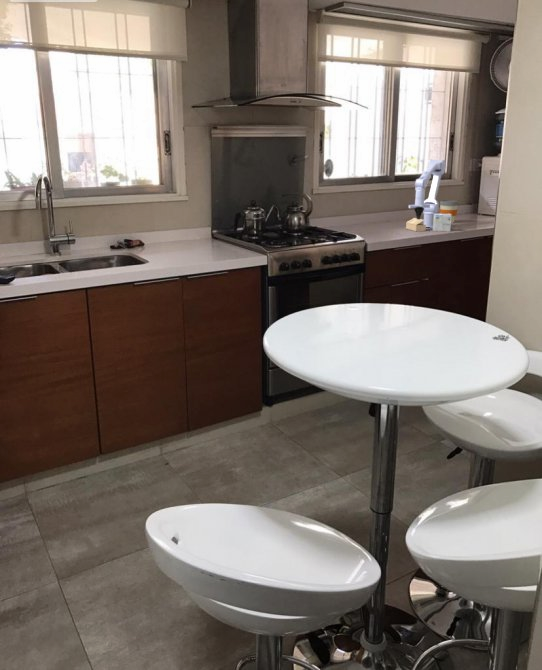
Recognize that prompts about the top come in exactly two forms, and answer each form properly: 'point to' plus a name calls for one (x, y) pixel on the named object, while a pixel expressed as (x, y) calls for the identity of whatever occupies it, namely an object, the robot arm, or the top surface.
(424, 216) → the robot arm
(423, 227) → the carton
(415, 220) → the lid
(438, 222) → the light bulb box
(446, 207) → the reusable coffee cup
